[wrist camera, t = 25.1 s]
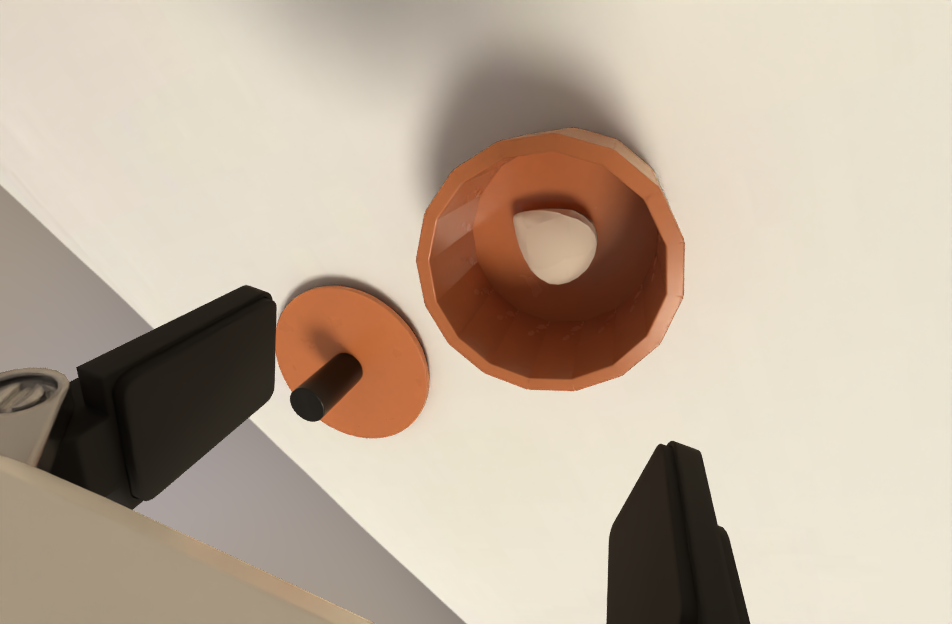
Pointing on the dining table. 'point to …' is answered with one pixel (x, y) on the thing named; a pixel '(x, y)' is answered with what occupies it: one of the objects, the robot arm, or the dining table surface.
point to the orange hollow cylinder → (532, 299)
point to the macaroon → (556, 243)
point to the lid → (351, 362)
